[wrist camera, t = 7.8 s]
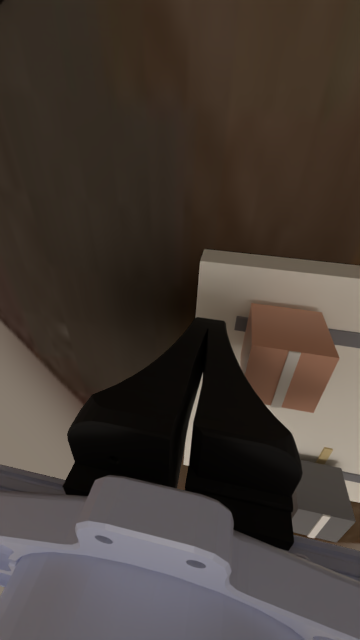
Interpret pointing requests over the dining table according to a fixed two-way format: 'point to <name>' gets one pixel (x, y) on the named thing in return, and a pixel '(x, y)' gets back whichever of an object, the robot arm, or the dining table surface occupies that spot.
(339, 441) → the console
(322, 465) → the fader charcoal
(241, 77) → the dining table surface
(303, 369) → the fader terracotta
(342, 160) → the dining table surface
